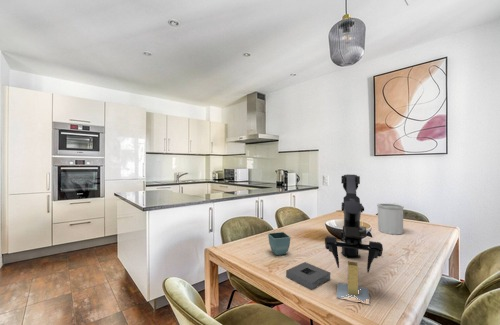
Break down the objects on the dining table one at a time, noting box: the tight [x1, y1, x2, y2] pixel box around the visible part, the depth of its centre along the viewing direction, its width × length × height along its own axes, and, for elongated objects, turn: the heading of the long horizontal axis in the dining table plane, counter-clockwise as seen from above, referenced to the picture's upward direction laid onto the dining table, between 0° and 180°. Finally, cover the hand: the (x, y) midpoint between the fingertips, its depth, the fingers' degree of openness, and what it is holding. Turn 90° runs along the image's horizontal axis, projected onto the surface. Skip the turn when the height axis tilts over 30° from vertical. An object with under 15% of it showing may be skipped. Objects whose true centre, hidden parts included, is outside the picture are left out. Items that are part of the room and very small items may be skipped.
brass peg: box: [347, 260, 359, 296], centre depth 79 cm, size 3×3×10 cm
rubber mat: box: [336, 282, 371, 302], centre depth 79 cm, size 10×10×1 cm
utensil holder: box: [376, 202, 405, 235], centre depth 149 cm, size 15×15×18 cm
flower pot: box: [267, 231, 292, 256], centre depth 114 cm, size 9×9×9 cm
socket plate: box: [285, 261, 331, 291], centre depth 89 cm, size 12×12×2 cm
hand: (352, 269), depth 77 cm, fingers open, 9 cm apart
